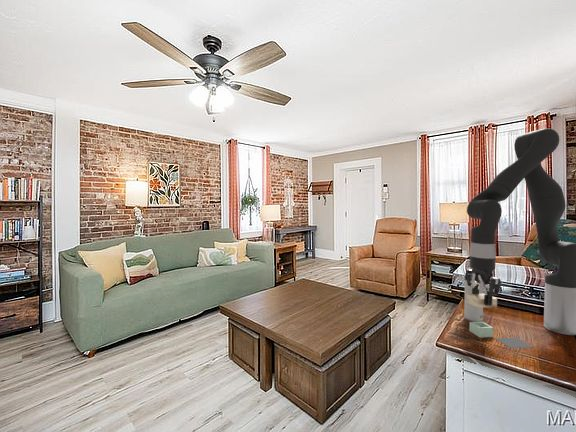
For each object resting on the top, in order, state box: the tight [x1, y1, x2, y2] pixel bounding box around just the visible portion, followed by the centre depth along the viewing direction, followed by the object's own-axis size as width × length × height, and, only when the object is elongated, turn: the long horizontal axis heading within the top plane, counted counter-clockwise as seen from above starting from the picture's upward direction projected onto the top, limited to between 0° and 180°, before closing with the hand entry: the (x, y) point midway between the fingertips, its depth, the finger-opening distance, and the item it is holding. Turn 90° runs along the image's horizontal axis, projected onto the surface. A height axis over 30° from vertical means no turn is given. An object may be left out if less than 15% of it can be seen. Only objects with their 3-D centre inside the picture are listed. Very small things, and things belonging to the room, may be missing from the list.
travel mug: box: [463, 272, 484, 322], centre depth 111 cm, size 6×7×20 cm
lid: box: [467, 293, 498, 308], centre depth 99 cm, size 7×6×3 cm
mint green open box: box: [469, 321, 494, 339], centre depth 99 cm, size 5×5×4 cm
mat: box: [494, 337, 534, 349], centre depth 93 cm, size 8×6×1 cm
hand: (481, 301), depth 99 cm, fingers closed on lid, 5 cm apart
